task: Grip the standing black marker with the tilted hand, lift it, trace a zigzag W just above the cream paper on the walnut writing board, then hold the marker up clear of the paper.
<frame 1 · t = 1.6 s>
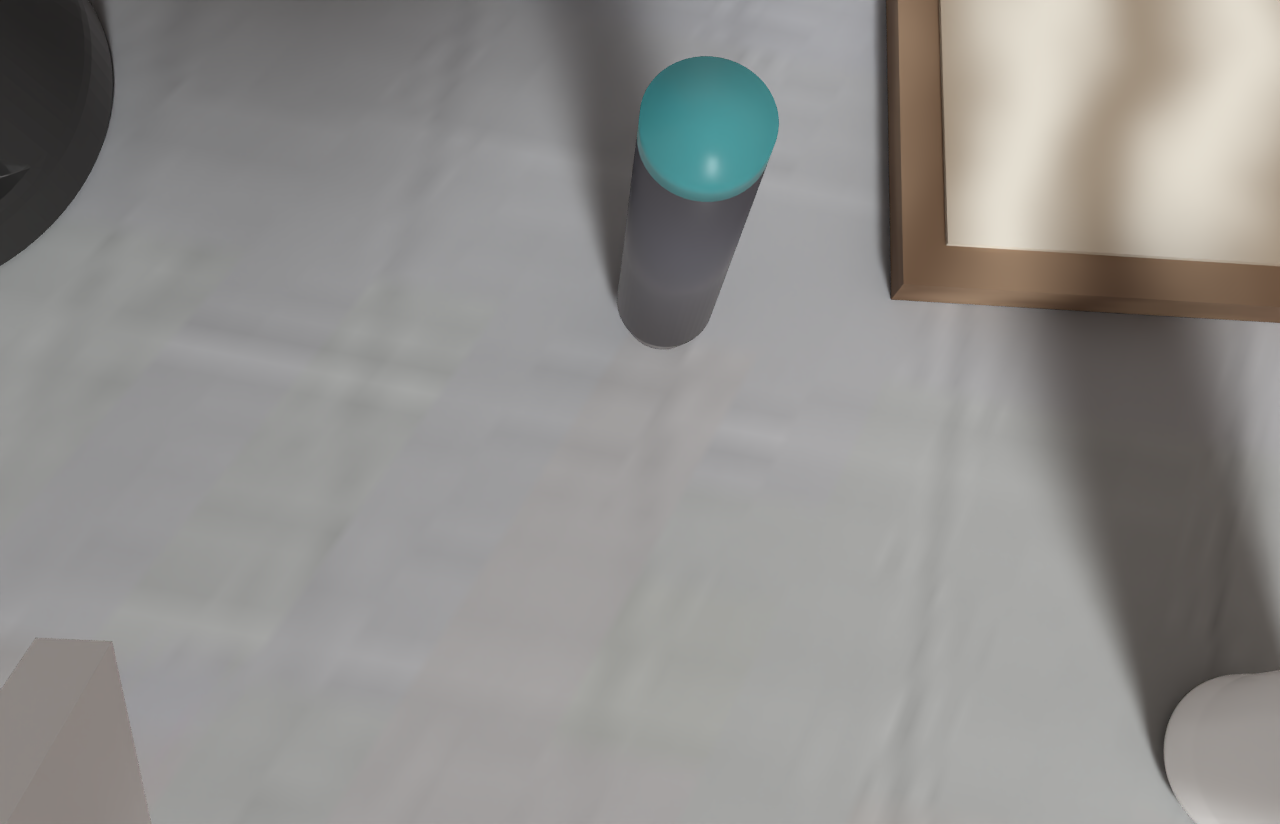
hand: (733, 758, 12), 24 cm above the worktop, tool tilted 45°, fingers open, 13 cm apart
marker: (662, 313, 39), on the worktop
writing board: (1100, 108, 42), on the worktop
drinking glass: (1232, 759, 36), on the worktop
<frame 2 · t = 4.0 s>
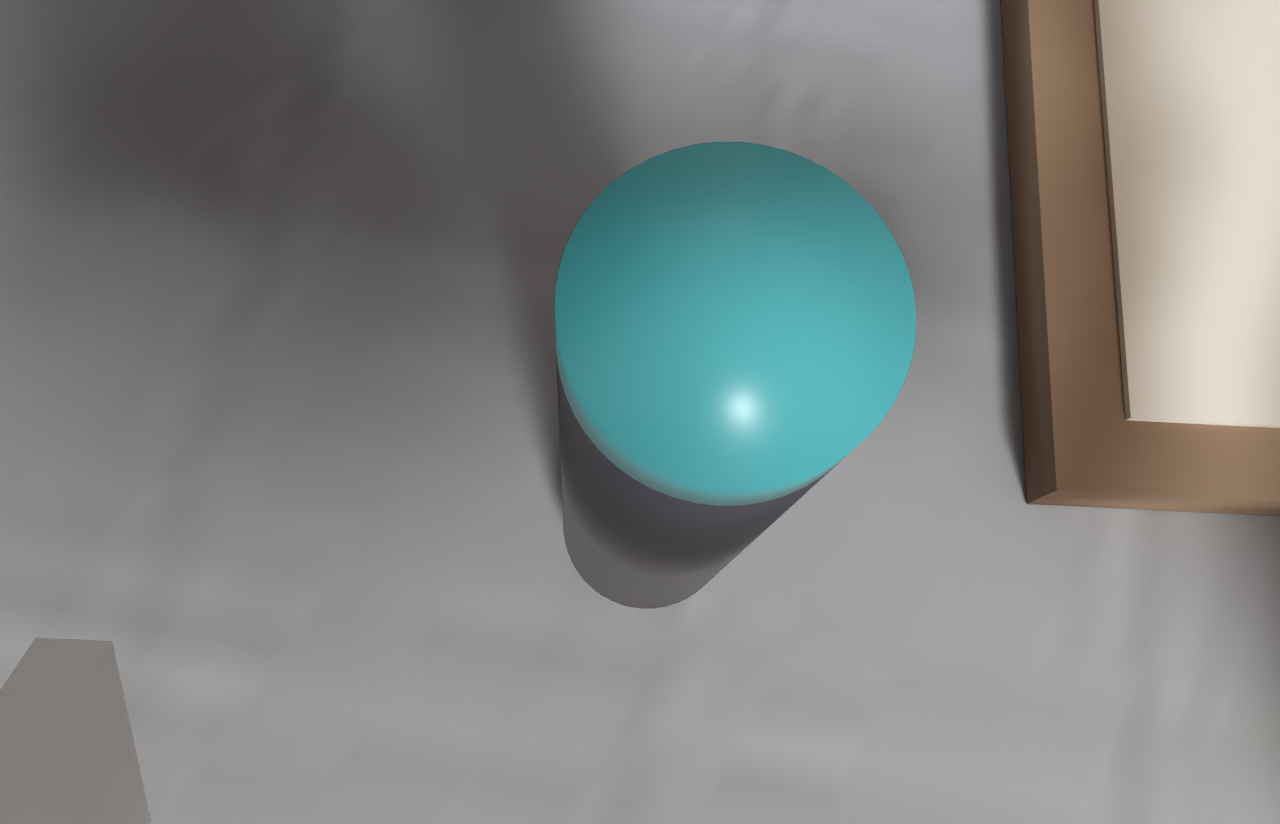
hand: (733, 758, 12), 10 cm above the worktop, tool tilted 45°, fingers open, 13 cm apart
marker: (642, 533, 23), on the worktop
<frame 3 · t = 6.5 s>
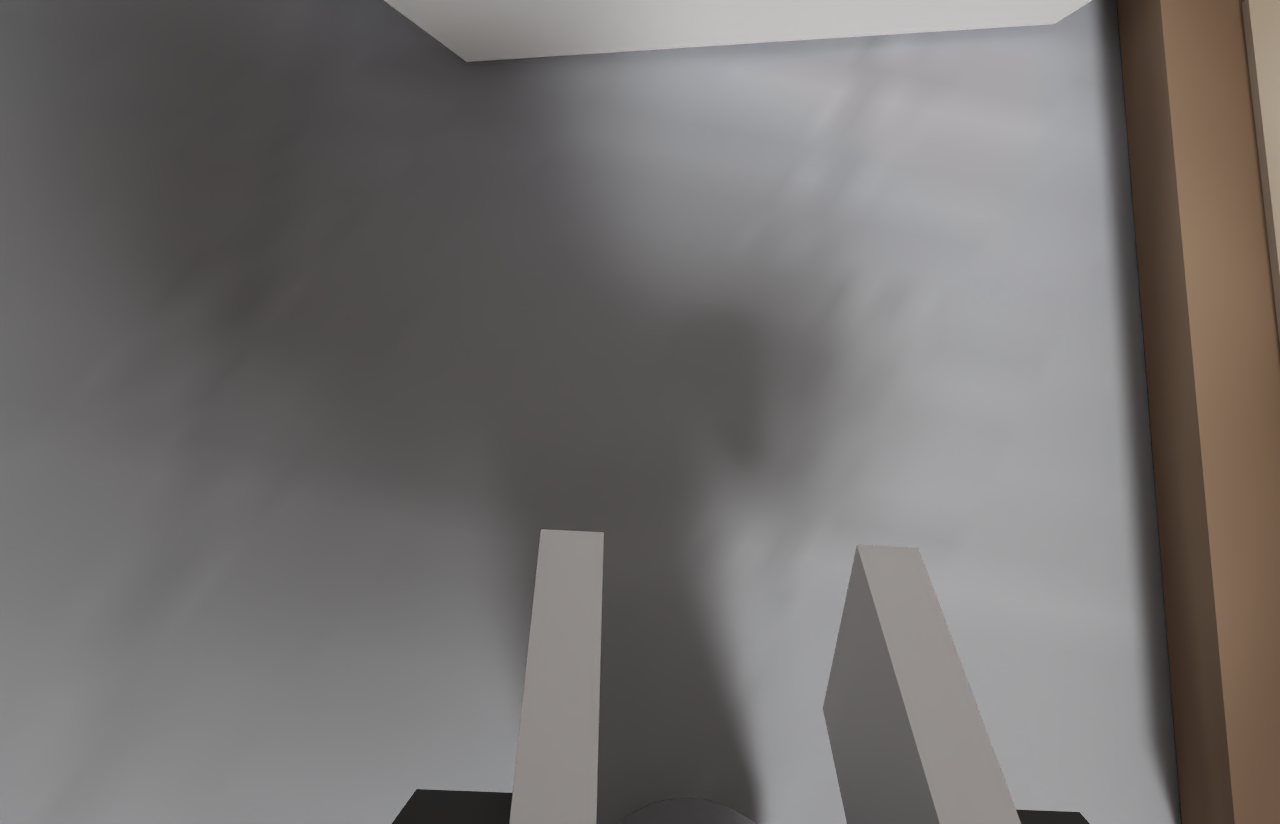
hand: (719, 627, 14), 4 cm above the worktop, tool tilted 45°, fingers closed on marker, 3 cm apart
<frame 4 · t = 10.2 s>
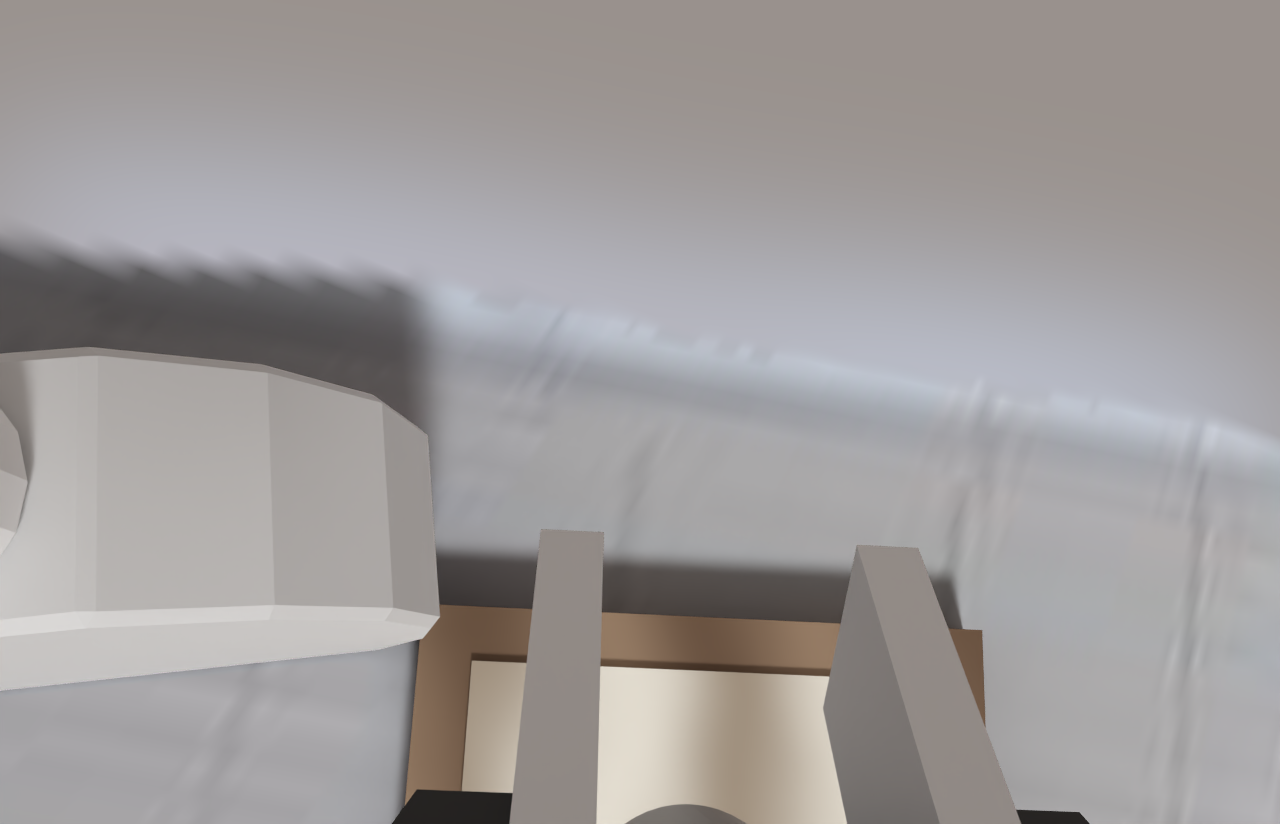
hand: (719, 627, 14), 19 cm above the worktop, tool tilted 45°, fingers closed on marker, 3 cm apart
soap bottle: (183, 591, 33), on the worktop
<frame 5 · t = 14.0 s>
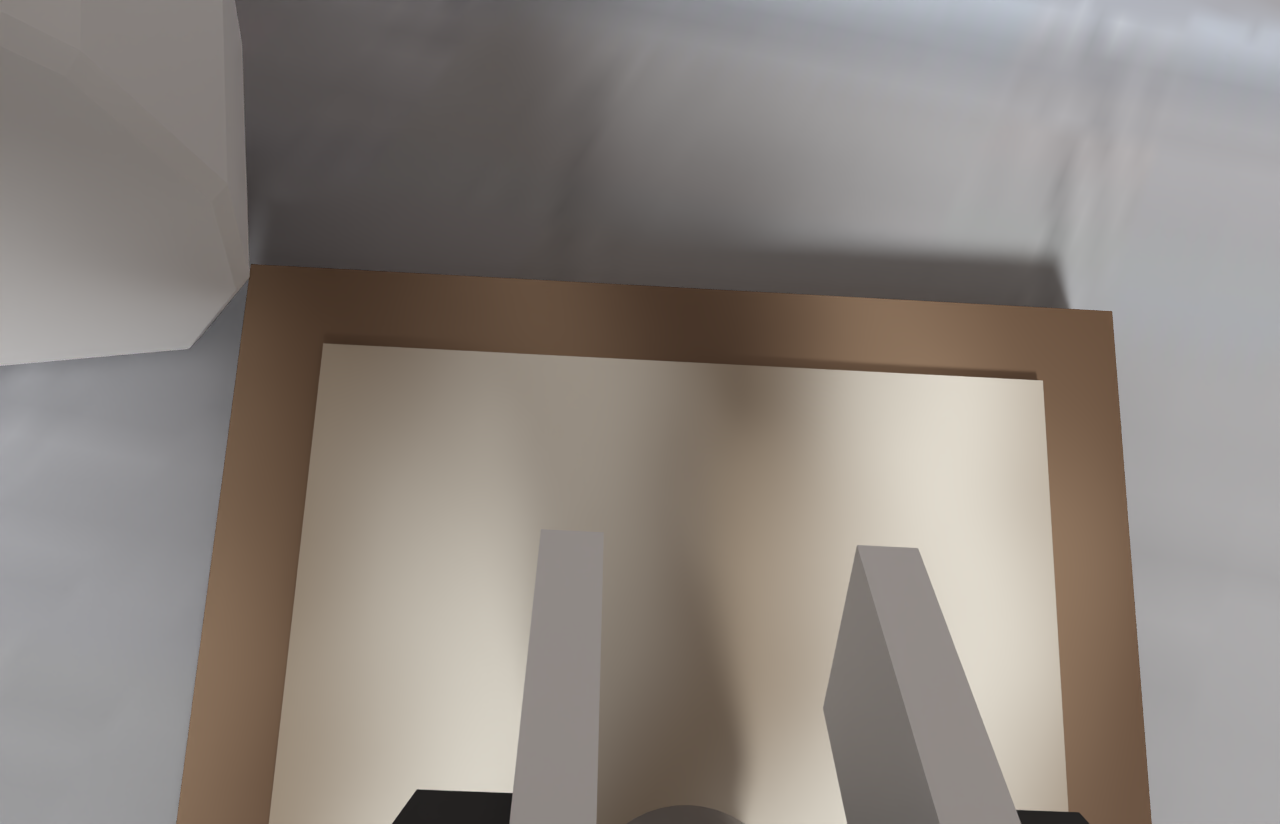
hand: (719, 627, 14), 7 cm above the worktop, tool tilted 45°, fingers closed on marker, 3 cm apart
writing board: (670, 735, 20), on the worktop
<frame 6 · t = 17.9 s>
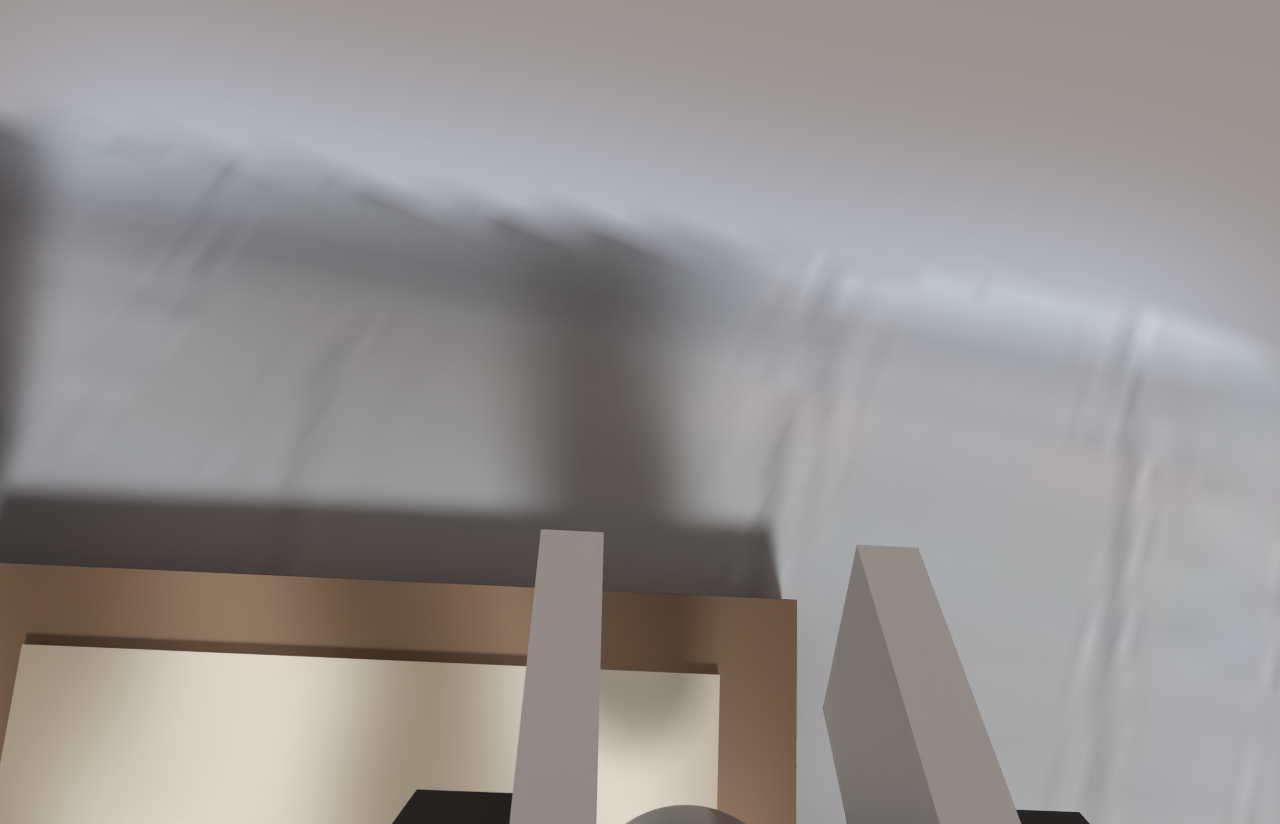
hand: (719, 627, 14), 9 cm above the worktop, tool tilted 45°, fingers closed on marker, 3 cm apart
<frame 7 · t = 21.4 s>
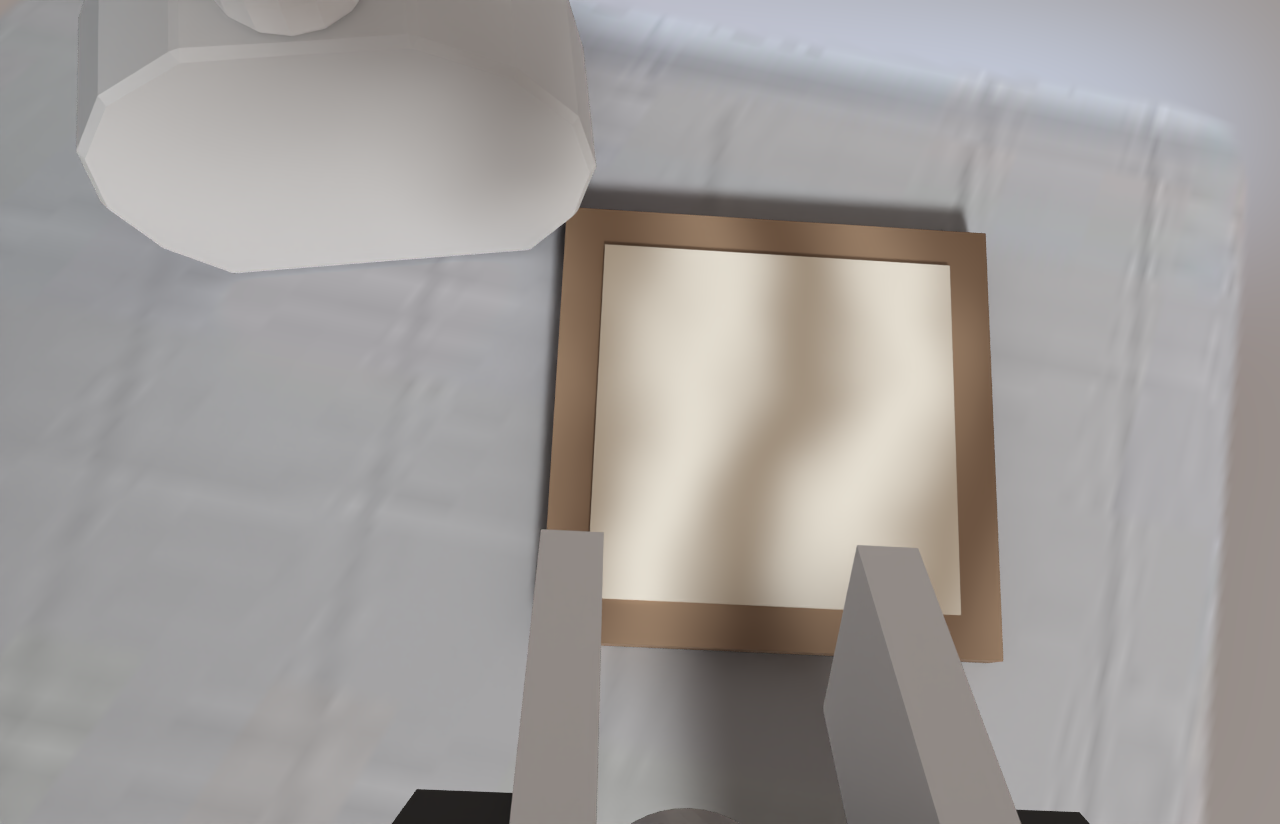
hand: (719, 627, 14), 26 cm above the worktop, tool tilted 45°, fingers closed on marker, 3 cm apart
soap bottle: (381, 210, 44), on the worktop
writing board: (768, 434, 42), on the worktop
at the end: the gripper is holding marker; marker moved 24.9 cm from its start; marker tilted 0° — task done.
